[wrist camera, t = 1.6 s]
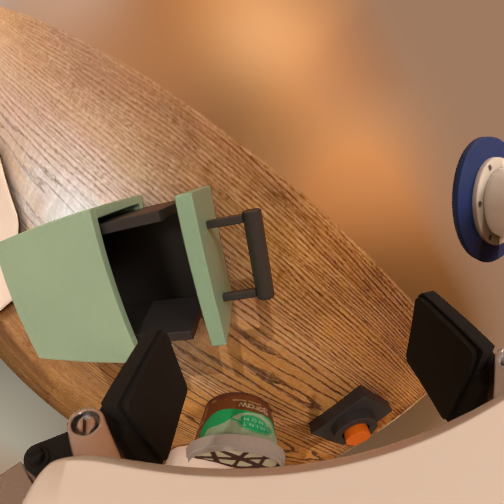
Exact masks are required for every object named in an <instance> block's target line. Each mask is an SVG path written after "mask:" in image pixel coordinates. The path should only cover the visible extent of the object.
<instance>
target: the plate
mask: <svg viewBox="0 0 504 504" xmlns="http://www.w3.org/2000/svg"><path fill="white" fill-rule="evenodd" d="M17 234H19V217H18V212H17V210H16V207H15V204H14V201H13V198H12V195H11V192H10V189H9V186H8V182H7V179H6V175H5V172H4V168H3V164H2V160H1V156H0V241H2V240H5V239H7V238H9V237H12V236H14V235H17ZM11 301H12V298H11V295H10V293H9V290H8V287H7V285H6V282H5V279H4V276H3V273H2V270H1V266H0V310H2V309H3V308H4V307H5V306H6V305H8V304H9V303H10V302H11Z"/></svg>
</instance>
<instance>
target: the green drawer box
mask: <svg viewBox="0 0 504 504" xmlns="http://www.w3.org/2000/svg"><path fill="white" fill-rule="evenodd" d="M141 208H143V203H142V198H141V195H137V196H133V197H129V198H126V199H122V200H118V201H115V202H111V203H108V204H104V205H101V206H98V207H94V208H91V209H88V210H85V211H82V212H78V213H75V214H72V215H69V216H66V217H63V218H60V219H57V220H54V221H52V222H49V223H46V224H43V225H40V226H38V227H35V228H32V229H30V230H27V231H25V232H22V233H19V234H17V235H14V236H12V237H9V238H7V239H5V240H2V241H0V266H1V270H2V273H3V276H4V279H5V282H6V285H7V287H8V290H9V293H10V295H11V298H12V301H13V303H14V306H15V308H16V310H17V313H18V315H19V317H20V320H21V322H22V324H23V326H24V328H25V331H26V333H27V335H28V337H29V339H30V341H31V343H32V345H33V347H34V349H35V350H36V352H37V354H38V356H39V358H45V359H55V360H67V361H81V362H104V363H125V362H126V361H127V359H128V357H129V356H130V354H131V353H132V351H133V349H134V348H135V346H136V345H137V343H138V341H137V339H136V336H135V334H134V332H133V329H132V327H131V324H130V322H129V319H128V316H127V314H126V311H125V308H124V306H123V303H122V300H121V297H120V295H119V292H118V289H117V286H116V283H115V280H114V277H113V274H112V270H111V267H110V264H109V260H108V257H107V254H106V250H105V247H104V243H103V239H102V235H101V231H100V227H99V223H98V219H102V218H105V217H109V216H113V215H117V214H121V213H125V212H128V211H132V210H137V209H141Z"/></svg>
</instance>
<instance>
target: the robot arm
mask: <svg viewBox="0 0 504 504" xmlns="http://www.w3.org/2000/svg"><path fill="white" fill-rule="evenodd" d="M472 209H473V218H474V223H475V226H476V229H477V231H478V233H479V235H480V237H481V238H482V239H483V240H484V241H485V242H487V243H489V244H492V245H500V244H502V243H504V158H501V157H491V158H488V159H487V160H486V161H485V162H484V163H483V164H482V165H481V167H480V169H479V171H478V173H477V176H476V179H475V183H474V187H473V196H472ZM494 347H495V346H494V345H493V344H492V343H491V342H490V341H489V340H488V339H487V338H486V337H485V336H484V335H483V334H482V333H481V332H480V331H479V330H478V329H477V328H476V327H474V326H473V325H472V324H471V323H470V322H469V321H468V320H467V319H466V318H465V317H463V316H462V315H461V314H460V313H459V312H458V311H457V310H456V309H454V308H453V307H452V306H451V305H450V304H448V303H447V302H446V301H445V300H444V299H443V298H441V297H440V296H439V295H438V294H437V293H436V292H434V291H430V292H425V293H421V294H420V295H419V296H418V298H417V299H416V300H415V305H414V313H413V320H412V326H411V332H410V337H409V343H408V348H407V353H406V358H407V362H408V363H409V365H410V367H411V368H412V370H413V371H414V373H415V374H416V376H417V377H418V379H419V381H420V382H421V384H422V385H423V387H424V389H425V390H426V392H427V394H428V395H429V397H430V398H431V400H432V402H433V403H434V405H435V407H436V409H437V410H438V412H439V414H440V415H441V417H442V418H443V419H446V420H447V423H445V424H443V425H440V426H438V427H436V428H434V429H431V430H429V431H426V432H424V433H421V434H419V435H416V436H413V437H411V438H408V439H405V440H402V441H399V442H396V443H393V444H390V445H387V446H383V447H380V448H377V449H373V450H369V451H366V452H362V453H358V454H354V455H349V456H345V457H340V458H335V459H330V460H324V461H318V462H312V463H305V464H298V465H289V466H279V467H266V468H244V469H219V468H197V467H183V466H172V465H163V460H167V459H168V456H169V453H170V449H171V446H172V442H173V439H174V435H175V432H176V428H177V425H178V421H179V418H180V414H181V411H182V408H183V404H184V401H185V397H186V394H187V385H186V382H185V380H184V377H183V374H182V372H181V369H180V367H179V364H178V361H177V359H176V356H175V353H174V350H173V348H172V345H171V342H170V339H169V336H168V334H167V333H164V332H163V331H162V330H161V329H148V330H146V331H145V332H144V334H143V335H142V337H141V338H140V340H139V341H138V343H137V345H136V346H135V348H134V349H133V351H132V353H131V354H130V356H129V357H128V359H127V361H126V362H125V364H124V365H123V367H122V369H121V370H120V372H119V374H118V375H117V377H116V379H115V380H114V382H113V384H112V385H111V387H110V389H109V390H108V392H107V394H106V395H105V397H104V399H103V400H102V402H101V404H102V407H101V409H100V410H99V409H97V408H93V407H87V408H83V409H80V410H78V411H76V412H75V413H74V414H73V415H72V416H71V417H70V418H69V420H68V423H67V432H66V433H64V434H61V435H58V436H56V437H53V438H51V439H48V440H46V441H43V442H40V443H38V444H35V445H33V446H31V447H30V448H29V449H28V450H27V452H26V453H25V456H24V464H22V463H21V462H19V463H18V464H16V465H15V466H13V467H12V468H10V469H9V470H7V471H6V472H4V473H3V474H1V475H0V504H504V348H501V349H499V350H498V351H497V353H496V354H494V353H493V349H494Z"/></svg>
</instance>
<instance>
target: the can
mask: <svg viewBox="0 0 504 504" xmlns="http://www.w3.org/2000/svg"><path fill="white" fill-rule="evenodd" d="M187 446H188V445H186V446H179V447H176V448H173V449H172V450H171V451H170V453H169V456H168V459H167V460H166V464H165V465H172V466H183V467H197V468H219V469H236V468H233V467H229V466H225V465H222V464H219V463H216V462H211V461H207V460H202V459H196V458H192V459H191V460H190V461H189V463H188V458H186V448H187Z"/></svg>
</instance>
